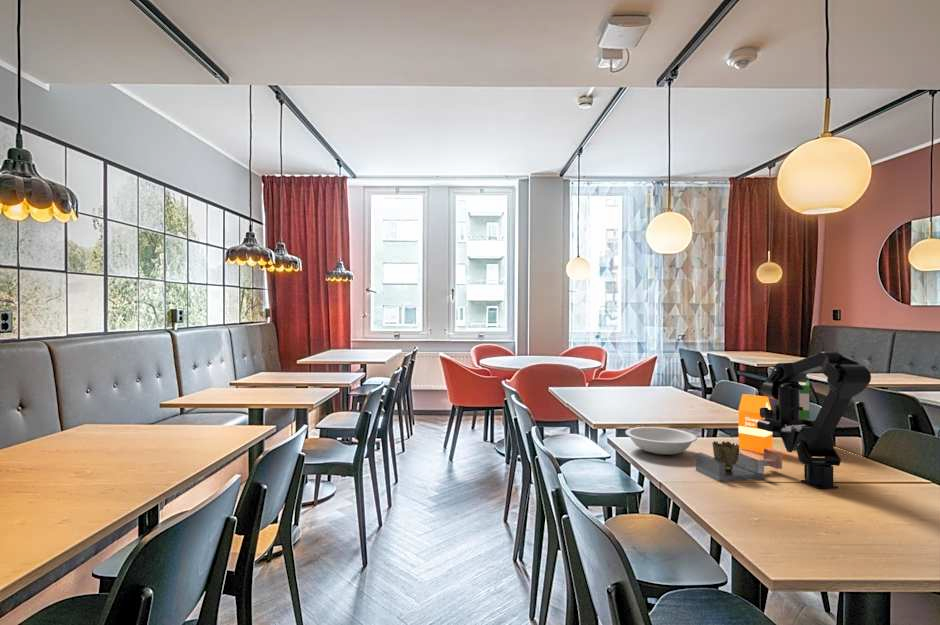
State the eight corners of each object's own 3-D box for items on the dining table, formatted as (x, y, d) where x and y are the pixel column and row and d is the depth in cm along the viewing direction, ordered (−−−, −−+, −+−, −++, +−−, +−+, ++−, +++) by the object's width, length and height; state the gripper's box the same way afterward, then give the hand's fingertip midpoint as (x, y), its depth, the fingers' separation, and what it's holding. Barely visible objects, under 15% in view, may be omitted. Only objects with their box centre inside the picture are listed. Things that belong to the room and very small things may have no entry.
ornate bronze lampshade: (733, 466, 151) (733, 441, 151) (744, 473, 144) (744, 447, 144) (708, 465, 152) (708, 440, 152) (718, 473, 144) (718, 446, 144)
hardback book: (787, 439, 192) (786, 379, 193) (809, 441, 188) (809, 380, 189) (785, 448, 178) (784, 384, 178) (809, 451, 174) (809, 385, 174)
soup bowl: (637, 461, 161) (637, 442, 161) (617, 443, 185) (617, 426, 185) (709, 462, 160) (709, 442, 160) (680, 444, 184) (680, 427, 184)
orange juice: (746, 445, 182) (746, 392, 183) (772, 450, 176) (772, 395, 176) (738, 448, 177) (737, 394, 178) (764, 454, 171) (764, 397, 171)
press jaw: (790, 471, 145) (789, 455, 145) (758, 473, 143) (757, 456, 143) (762, 461, 156) (761, 445, 156) (732, 462, 154) (731, 447, 154)
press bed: (764, 478, 144) (763, 460, 144) (719, 481, 141) (719, 462, 141) (737, 467, 154) (737, 450, 155) (695, 470, 152) (695, 452, 152)
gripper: (793, 398, 161) (793, 444, 161) (744, 399, 158) (744, 446, 158) (822, 403, 150) (823, 453, 150) (770, 405, 147) (771, 456, 147)
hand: (789, 452), depth 151 cm, fingers closed
